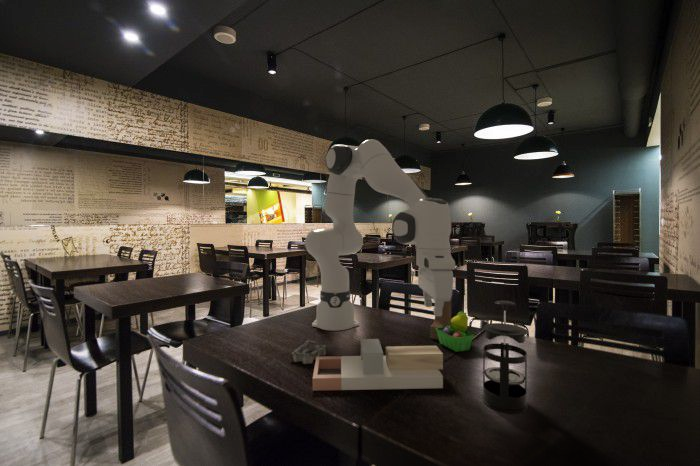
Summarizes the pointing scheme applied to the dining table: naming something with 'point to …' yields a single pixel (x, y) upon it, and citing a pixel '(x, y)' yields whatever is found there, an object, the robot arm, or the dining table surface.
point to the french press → (505, 368)
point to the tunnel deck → (369, 372)
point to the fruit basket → (456, 334)
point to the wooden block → (441, 320)
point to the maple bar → (414, 357)
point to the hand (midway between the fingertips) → (432, 310)
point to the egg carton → (308, 352)
